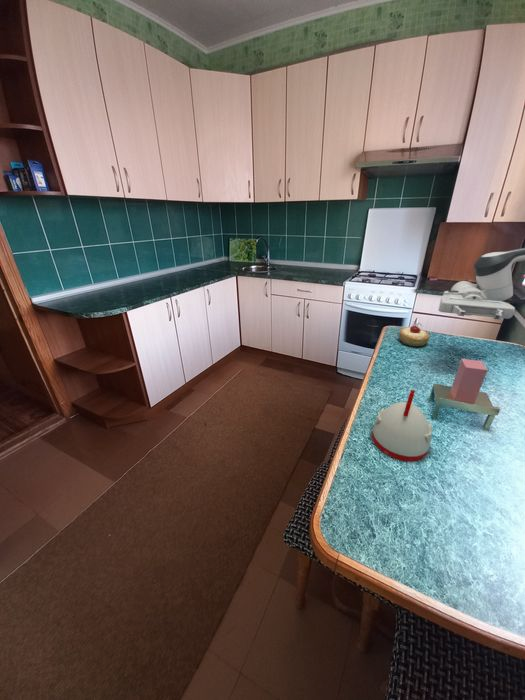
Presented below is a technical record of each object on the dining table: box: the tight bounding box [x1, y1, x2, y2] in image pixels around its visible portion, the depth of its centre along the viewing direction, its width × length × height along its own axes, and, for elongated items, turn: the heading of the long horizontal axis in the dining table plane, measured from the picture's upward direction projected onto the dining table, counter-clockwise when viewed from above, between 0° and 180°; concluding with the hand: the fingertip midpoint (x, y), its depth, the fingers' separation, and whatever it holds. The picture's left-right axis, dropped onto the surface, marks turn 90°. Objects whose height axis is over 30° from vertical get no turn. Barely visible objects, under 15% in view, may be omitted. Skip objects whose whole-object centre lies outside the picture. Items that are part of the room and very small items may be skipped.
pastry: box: [398, 322, 431, 348], centre depth 127 cm, size 12×12×9 cm
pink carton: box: [450, 358, 488, 403], centre depth 82 cm, size 5×5×11 cm
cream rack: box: [428, 383, 501, 431], centre depth 84 cm, size 14×11×8 cm
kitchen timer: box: [371, 389, 433, 462], centre depth 74 cm, size 14×14×15 cm
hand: (479, 315), depth 89 cm, fingers open, 8 cm apart
